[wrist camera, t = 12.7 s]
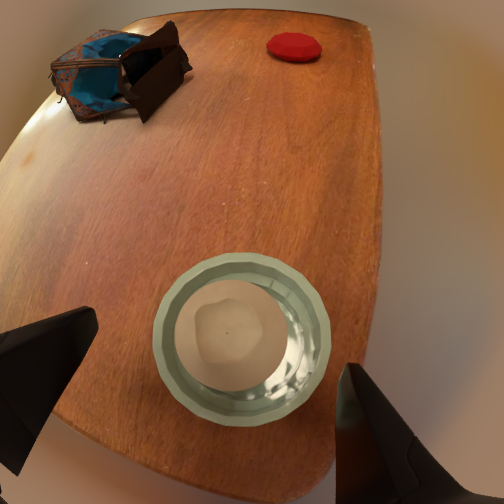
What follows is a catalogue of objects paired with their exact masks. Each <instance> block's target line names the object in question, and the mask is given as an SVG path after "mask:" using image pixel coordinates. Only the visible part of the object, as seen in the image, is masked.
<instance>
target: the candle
mask: <svg viewBox="0 0 504 504" xmlns="http://www.w3.org/2000/svg"><path fill="white" fill-rule="evenodd" d="M174 338H175V346H176V350H177V354H178V356H179V359H180V361H181V362H182V364H183V366H184V367H185V369H186V370H187V371H188V372H189V373H190V374H191V375H192V376H193V377H194V378H195V379H196V380H198V381H199V382H201V383H202V384H204V385H206V386H208V387H211V388H213V389H217V390H222V391H241V390H246V389H249V388H252V387H254V386H257V385H258V384H260V383H262V382H264V381H265V380H266V379H267V378H269V377H270V376H271V375H272V374H273V373H274V372H275V371H276V369H277V368H278V366H279V365H280V363H281V361H282V360H283V357H284V355H285V352H286V348H287V344H288V328H287V323H286V319H285V316H284V314H283V312H282V310H281V308H280V306H279V305H278V303H277V302H276V301H275V299H274V298H273V297H272V296H271V295H270V294H269V293H267V292H266V291H265V290H263V289H262V288H260V287H258V286H256V285H254V284H252V283H249V282H245V281H241V280H223V281H217V282H214V283H211V284H209V285H206V286H204V287H203V288H201V289H199V290H198V291H197V292H195V293H194V294H193V295H192V296H191V297H190V298H189V299H188V300H187V301H186V303H185V304H184V305H183V307H182V309H181V311H180V313H179V315H178V318H177V321H176V325H175V337H174Z"/></svg>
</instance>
